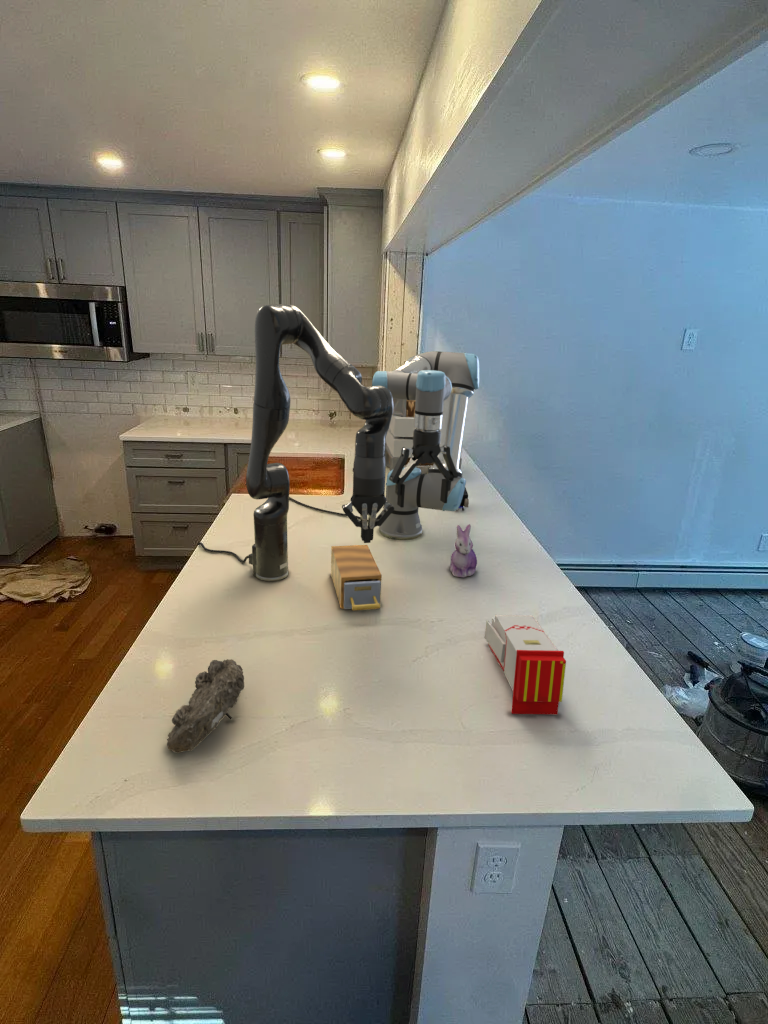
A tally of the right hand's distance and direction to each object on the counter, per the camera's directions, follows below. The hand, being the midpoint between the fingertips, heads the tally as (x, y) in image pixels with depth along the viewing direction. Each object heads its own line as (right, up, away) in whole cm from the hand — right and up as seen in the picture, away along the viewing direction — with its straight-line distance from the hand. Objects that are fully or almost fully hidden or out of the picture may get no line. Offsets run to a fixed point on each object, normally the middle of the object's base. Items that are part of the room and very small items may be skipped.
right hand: (422, 503), depth 160 cm
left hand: (-15, -9, -22) cm, 28 cm away
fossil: (-44, -41, -52) cm, 80 cm away
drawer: (-18, -25, -6) cm, 31 cm away
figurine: (+13, -21, +13) cm, 28 cm away
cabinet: (-19, -24, -1) cm, 31 cm away
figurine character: (+19, 0, +70) cm, 72 cm away
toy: (+19, -38, -35) cm, 55 cm away
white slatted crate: (+6, +17, +115) cm, 116 cm away
